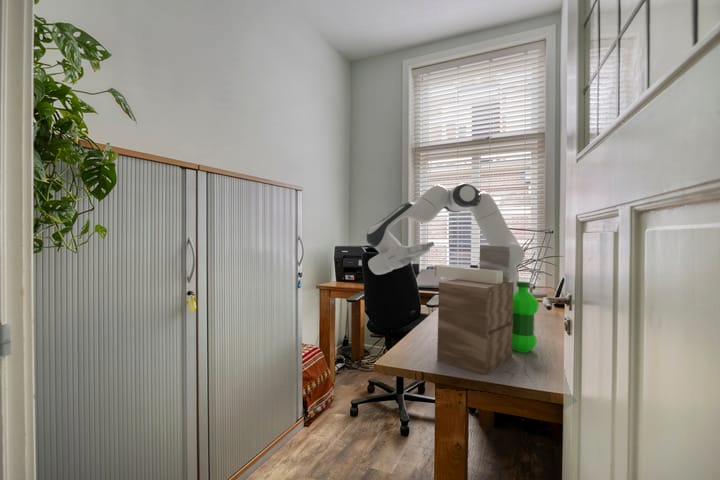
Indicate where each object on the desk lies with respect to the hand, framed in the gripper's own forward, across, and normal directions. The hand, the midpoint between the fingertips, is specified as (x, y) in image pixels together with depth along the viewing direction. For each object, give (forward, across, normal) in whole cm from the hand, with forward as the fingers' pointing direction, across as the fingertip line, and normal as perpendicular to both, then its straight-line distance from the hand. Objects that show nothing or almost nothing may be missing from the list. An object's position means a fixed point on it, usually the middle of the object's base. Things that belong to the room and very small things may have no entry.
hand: (427, 244), depth 135 cm
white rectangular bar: (+12, -3, +17) cm, 21 cm away
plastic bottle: (+14, +11, +48) cm, 51 cm away
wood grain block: (+7, -9, +43) cm, 44 cm away
